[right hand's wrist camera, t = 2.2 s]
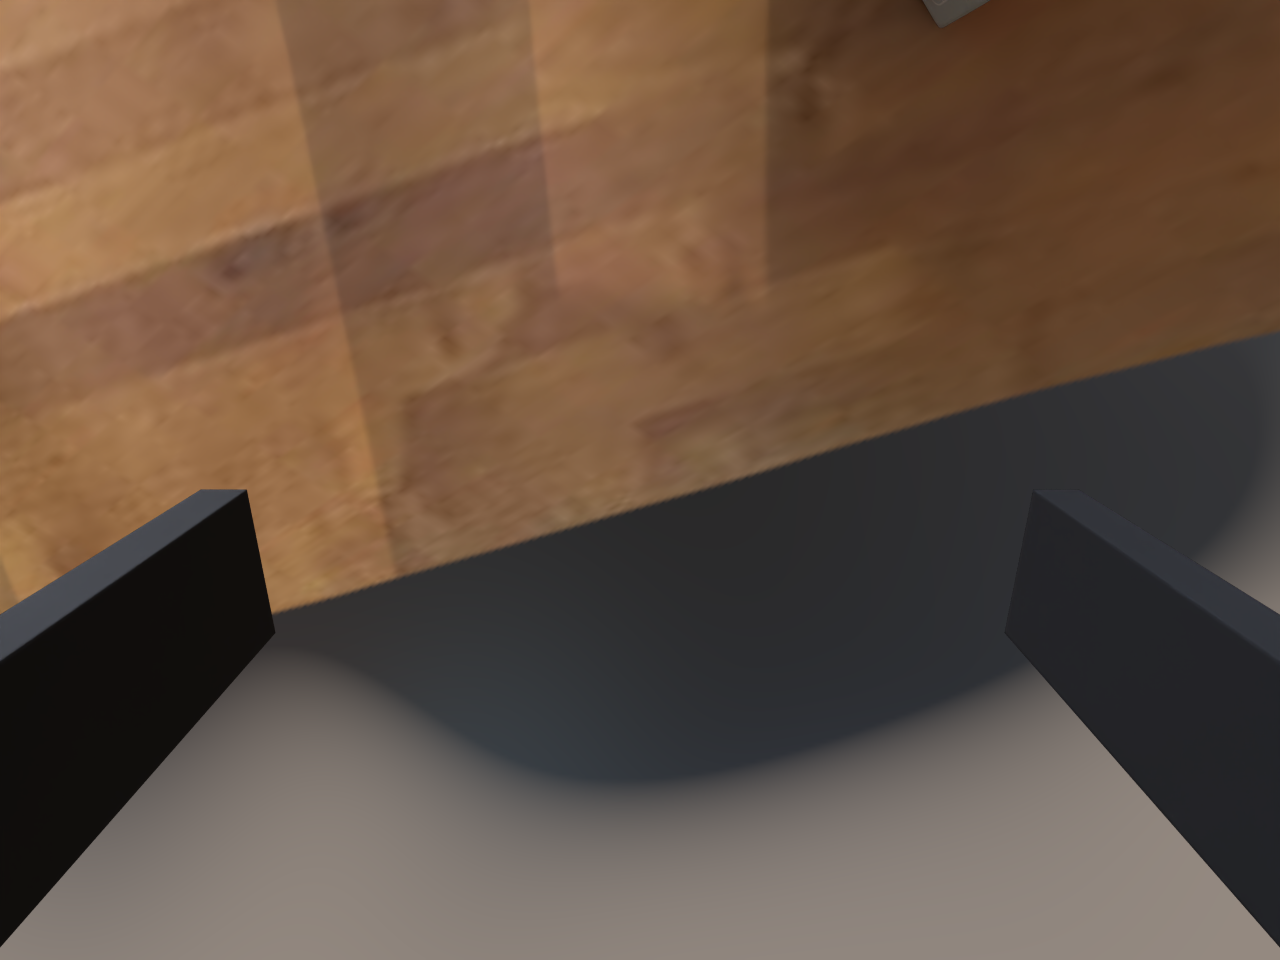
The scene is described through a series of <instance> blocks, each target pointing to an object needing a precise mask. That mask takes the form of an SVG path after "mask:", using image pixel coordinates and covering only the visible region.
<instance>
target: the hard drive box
mask: <svg viewBox="0 0 1280 960" xmlns="http://www.w3.org/2000/svg"><path fill="white" fill-rule="evenodd" d="M988 1H990V0H923V2H924V4H925V6H926V7H927V9H928V11H929V12H930V14H931V16H932V18H933V19H934V21H935V22H936V24H937V25H938V27H940V28H943V27H945V26H947V25H949V24H950V23H952V22H954V21H956V20H957V19H959V18H961V17H963V16H964V15H966V14H968V13H970V12H971V11H973V10H975V9H976V8H978V7H980V6H981V5H983V4H985V3H986V2H988Z"/></svg>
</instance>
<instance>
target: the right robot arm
mask: <svg viewBox="0 0 1280 960" xmlns="http://www.w3.org/2000/svg"><path fill="white" fill-rule="evenodd" d="M274 634H275V629H274V624H273V619H272V614H271V608H270V603H269V598H268V593H267V588H266V583H265V578H264V573H263V568H262V563H261V558H260V553H259V548H258V543H257V538H256V533H255V528H254V523H253V518H252V513H251V508H250V503H249V498H248V493H247V490H199V491H198V492H196V493H195V494H193V495H191V496H190V497H188V498H187V499H185V500H183V501H182V502H180V503H179V504H177V505H175V506H174V507H172V508H171V509H169V510H167V511H166V512H164V513H163V514H161V515H159V516H158V517H156V518H155V519H153V520H151V521H150V522H148V523H147V524H145V525H143V526H142V527H140V528H138V529H137V530H135V531H134V532H132V533H130V534H129V535H127V536H126V537H124V538H122V539H121V540H119V541H118V542H116V543H114V544H113V545H111V546H110V547H108V548H106V549H105V550H103V551H102V552H100V553H98V554H97V555H95V556H94V557H92V558H90V559H89V560H87V561H86V562H84V563H82V564H81V565H79V566H77V567H76V568H74V569H73V570H71V571H69V572H68V573H66V574H65V575H63V576H61V577H60V578H58V579H57V580H55V581H53V582H52V583H50V584H49V585H47V586H45V587H44V588H42V589H41V590H39V591H37V592H36V593H34V594H33V595H31V596H29V597H28V598H26V599H25V600H23V601H21V602H20V603H18V604H17V605H15V606H13V607H12V608H10V609H8V610H7V611H5V612H4V613H2V614H0V947H1V946H2V945H3V944H4V942H5V941H6V940H7V939H8V938H9V937H10V936H11V934H12V933H13V932H14V931H15V930H16V929H17V927H18V926H19V925H20V924H21V923H22V922H23V921H24V920H25V918H26V917H27V916H28V915H29V914H30V913H31V912H32V910H33V909H34V908H35V907H36V906H37V905H38V904H39V902H40V901H41V900H42V899H43V898H44V897H45V896H46V894H47V893H48V892H49V891H50V890H51V889H52V888H53V886H54V885H55V884H56V883H57V882H58V881H59V880H60V878H61V877H62V876H63V875H64V874H65V873H66V872H67V870H68V869H69V868H70V867H71V866H72V865H73V864H74V862H75V861H76V860H77V859H78V858H79V857H80V855H81V854H82V853H83V852H84V851H85V850H86V849H87V848H88V846H89V845H90V844H91V843H92V842H93V841H94V840H95V838H96V837H97V836H98V835H99V834H100V833H101V832H102V830H103V829H104V828H105V827H106V826H107V825H108V824H109V822H110V821H111V820H112V819H113V818H114V817H115V816H116V814H117V813H118V812H119V811H120V810H121V809H122V808H123V806H124V805H125V804H126V803H127V802H128V801H129V799H130V798H131V797H132V796H133V795H134V794H135V793H136V792H137V790H138V789H139V788H140V787H141V786H142V785H143V784H144V782H145V781H146V780H147V779H148V778H149V777H150V776H151V774H152V773H153V772H154V771H155V770H156V769H157V768H158V766H159V765H160V764H161V763H162V762H163V761H164V760H165V758H166V757H167V756H168V755H169V754H170V753H171V752H172V750H173V749H174V748H175V747H176V746H177V745H178V744H179V742H180V741H181V740H182V739H183V738H184V737H185V735H186V734H187V733H188V732H189V731H190V730H191V729H192V728H193V726H194V725H195V724H196V723H197V722H198V721H199V720H200V718H201V717H202V716H203V715H204V714H205V713H206V711H207V710H208V709H209V708H210V707H211V706H212V705H213V704H214V702H215V701H216V700H217V699H218V698H219V697H220V696H221V694H222V693H223V692H224V691H225V690H226V689H227V687H228V686H229V685H230V684H231V683H232V682H233V681H234V679H235V678H236V677H237V676H238V675H239V674H240V673H241V672H242V670H243V669H244V668H245V667H246V666H247V665H248V664H249V662H250V661H251V660H252V659H253V658H254V657H255V655H256V654H257V653H258V652H259V651H260V650H261V649H262V648H263V646H264V645H265V644H266V643H267V642H268V641H269V640H270V638H271V637H272V636H273V635H274ZM1005 634H1006V635H1007V636H1008V637H1009V638H1010V640H1011V641H1012V642H1013V643H1014V644H1015V645H1016V646H1017V648H1018V649H1019V650H1020V651H1021V652H1022V653H1023V654H1024V656H1025V657H1026V658H1027V659H1028V660H1029V661H1030V662H1031V664H1032V665H1033V666H1034V667H1035V668H1036V669H1037V670H1038V671H1039V673H1040V674H1041V675H1042V676H1043V677H1044V678H1045V680H1046V681H1047V682H1048V683H1049V684H1050V685H1051V686H1052V687H1053V689H1054V690H1055V691H1056V692H1057V693H1058V694H1059V696H1060V697H1061V698H1062V699H1063V700H1064V701H1065V702H1066V704H1067V705H1068V706H1069V707H1070V708H1071V709H1072V710H1073V712H1074V713H1075V714H1076V715H1077V716H1078V717H1079V718H1080V719H1081V721H1082V722H1083V723H1084V724H1085V725H1086V726H1087V727H1088V729H1089V730H1090V731H1091V732H1092V733H1093V734H1094V736H1095V737H1096V738H1097V739H1098V740H1099V741H1100V742H1101V744H1102V745H1103V746H1104V747H1105V748H1106V749H1107V750H1108V751H1109V753H1110V754H1111V755H1112V756H1113V757H1114V758H1115V759H1116V761H1117V762H1118V763H1119V764H1120V765H1121V766H1122V768H1123V769H1124V770H1125V771H1126V772H1127V773H1128V774H1129V775H1130V777H1131V778H1132V779H1133V780H1134V781H1135V782H1136V784H1137V785H1138V786H1139V787H1140V788H1141V789H1142V790H1143V792H1144V793H1145V794H1146V795H1147V796H1148V797H1149V798H1150V800H1151V801H1152V802H1153V803H1154V804H1155V805H1156V806H1157V808H1158V809H1159V810H1160V811H1161V812H1162V813H1163V814H1164V816H1165V817H1166V818H1167V819H1168V820H1169V821H1170V822H1171V824H1172V825H1173V826H1174V827H1175V828H1176V829H1177V830H1178V832H1179V833H1180V834H1181V835H1182V836H1183V837H1184V838H1185V840H1186V841H1187V842H1188V843H1189V844H1190V845H1191V846H1192V848H1193V849H1194V850H1195V851H1196V852H1197V853H1198V854H1199V856H1200V857H1201V858H1202V859H1203V860H1204V861H1205V862H1206V864H1207V865H1208V866H1209V867H1210V868H1211V869H1212V870H1213V872H1214V873H1215V874H1216V875H1217V876H1218V877H1219V878H1220V880H1221V881H1222V882H1223V883H1224V884H1225V885H1226V886H1227V887H1228V889H1229V890H1230V891H1231V892H1232V893H1233V894H1234V896H1235V897H1236V898H1237V899H1238V900H1239V901H1240V902H1241V904H1242V905H1243V906H1244V907H1245V908H1246V909H1247V910H1248V912H1249V913H1250V914H1251V915H1252V916H1253V917H1254V918H1255V920H1256V921H1257V922H1258V923H1259V924H1260V925H1261V926H1262V928H1263V929H1264V930H1265V931H1266V932H1267V933H1268V934H1269V936H1270V937H1271V938H1272V939H1273V940H1274V941H1275V942H1276V944H1277V945H1278V946H1279V947H1280V614H1278V613H1276V612H1275V611H1273V610H1271V609H1270V608H1268V607H1267V606H1265V605H1263V604H1262V603H1260V602H1259V601H1257V600H1255V599H1254V598H1252V597H1251V596H1249V595H1247V594H1246V593H1244V592H1243V591H1241V590H1239V589H1238V588H1236V587H1235V586H1233V585H1231V584H1230V583H1228V582H1227V581H1225V580H1223V579H1222V578H1220V577H1219V576H1217V575H1215V574H1214V573H1212V572H1210V571H1209V570H1207V569H1206V568H1204V567H1203V566H1201V565H1199V564H1198V563H1196V562H1194V561H1193V560H1191V559H1190V558H1188V557H1186V556H1185V555H1183V554H1182V553H1180V552H1178V551H1177V550H1175V549H1174V548H1172V547H1170V546H1169V545H1167V544H1166V543H1164V542H1162V541H1161V540H1159V539H1158V538H1156V537H1154V536H1153V535H1151V534H1149V533H1148V532H1146V531H1145V530H1143V529H1142V528H1140V527H1138V526H1137V525H1135V524H1133V523H1132V522H1130V521H1129V520H1127V519H1125V518H1124V517H1122V516H1121V515H1119V514H1117V513H1116V512H1114V511H1113V510H1111V509H1109V508H1108V507H1106V506H1105V505H1103V504H1101V503H1100V502H1098V501H1097V500H1095V499H1093V498H1092V497H1090V496H1089V495H1087V494H1085V493H1084V492H1082V491H1081V490H1033V493H1032V499H1031V504H1030V508H1029V513H1028V518H1027V523H1026V528H1025V533H1024V539H1023V543H1022V549H1021V553H1020V558H1019V563H1018V568H1017V573H1016V578H1015V584H1014V588H1013V593H1012V598H1011V603H1010V609H1009V613H1008V619H1007V624H1006V629H1005Z"/></svg>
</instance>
